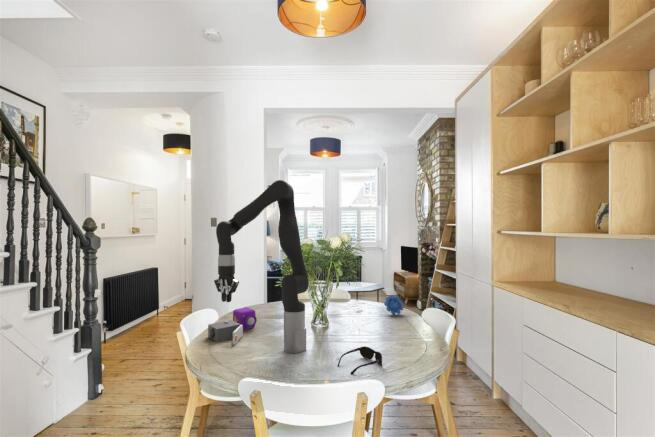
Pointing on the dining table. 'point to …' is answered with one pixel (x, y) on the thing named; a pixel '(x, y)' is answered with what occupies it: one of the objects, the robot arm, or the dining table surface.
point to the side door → (237, 334)
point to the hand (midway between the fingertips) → (226, 301)
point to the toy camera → (245, 317)
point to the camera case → (222, 330)
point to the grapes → (394, 304)
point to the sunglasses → (366, 356)
